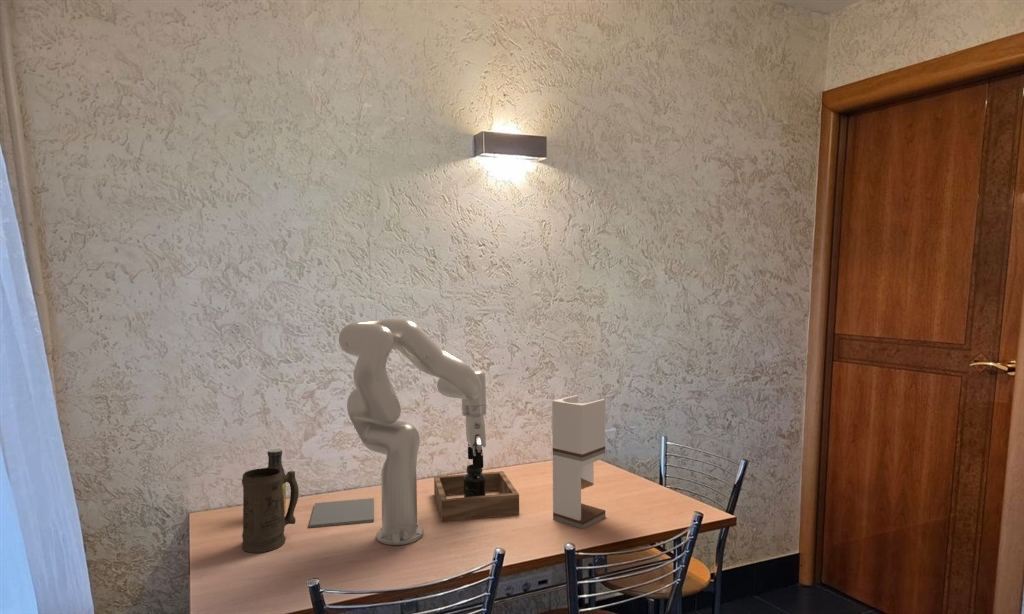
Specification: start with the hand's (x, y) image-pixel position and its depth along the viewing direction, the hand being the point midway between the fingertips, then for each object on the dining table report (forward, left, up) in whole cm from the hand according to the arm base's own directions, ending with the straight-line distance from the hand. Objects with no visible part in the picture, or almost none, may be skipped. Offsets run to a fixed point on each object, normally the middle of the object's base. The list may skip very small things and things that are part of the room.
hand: (475, 463), depth 189 cm
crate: (0, 0, -13) cm, 13 cm away
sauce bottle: (+5, +60, -13) cm, 62 cm away
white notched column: (-19, -28, -13) cm, 36 cm away
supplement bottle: (0, 0, -13) cm, 13 cm away
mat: (+2, +40, -13) cm, 42 cm away
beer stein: (-14, +58, -13) cm, 62 cm away
